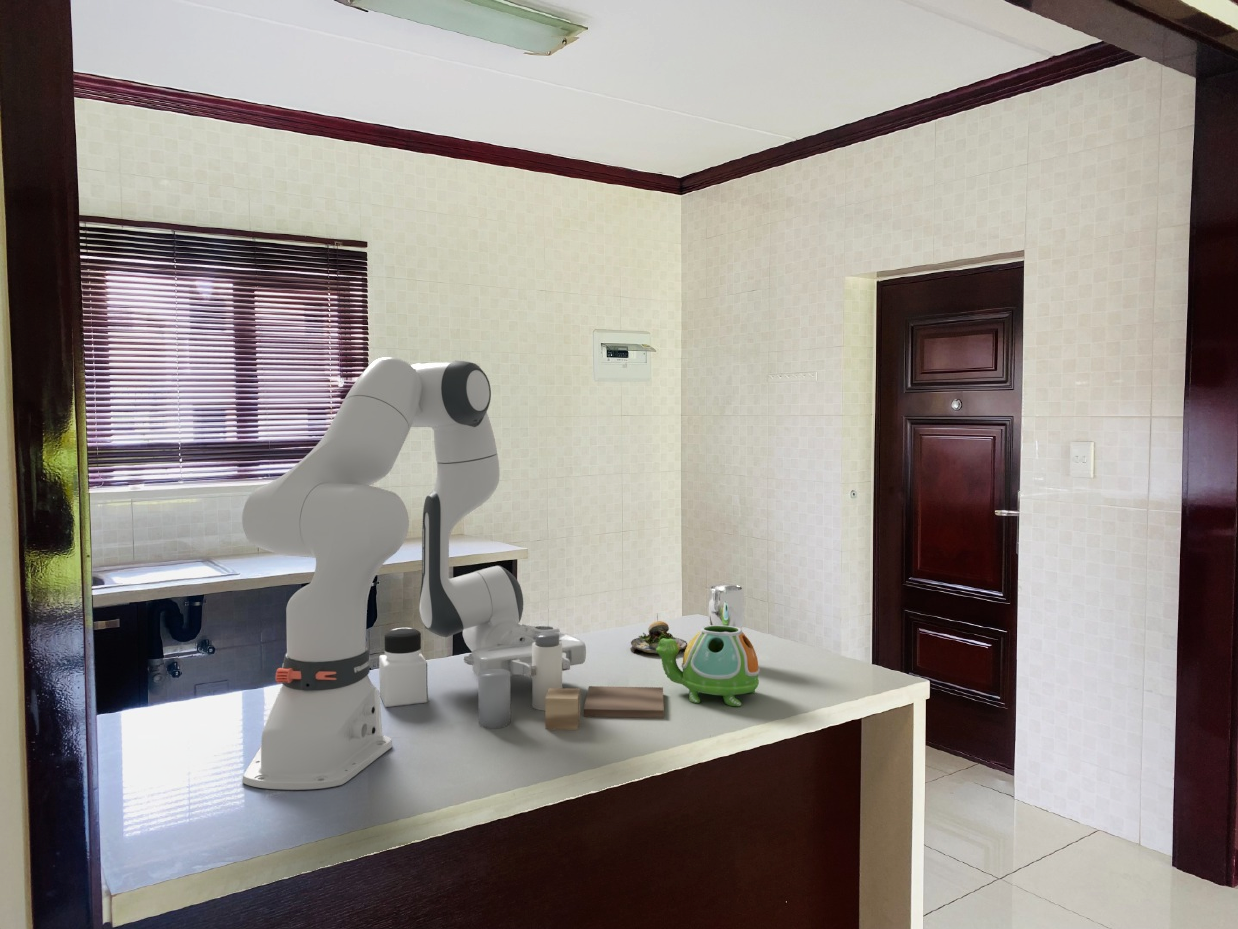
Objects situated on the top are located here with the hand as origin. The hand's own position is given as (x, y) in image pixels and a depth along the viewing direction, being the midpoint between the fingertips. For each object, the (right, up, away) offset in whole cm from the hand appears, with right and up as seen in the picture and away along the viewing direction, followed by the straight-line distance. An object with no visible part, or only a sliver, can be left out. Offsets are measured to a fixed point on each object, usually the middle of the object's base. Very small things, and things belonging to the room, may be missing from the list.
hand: (549, 668), depth 151 cm
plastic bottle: (0, -6, +1) cm, 7 cm away
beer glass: (+33, -5, +27) cm, 42 cm away
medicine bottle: (-25, -6, +4) cm, 27 cm away
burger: (+20, -5, +36) cm, 42 cm away
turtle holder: (+28, -7, +7) cm, 29 cm away
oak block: (+3, -7, -7) cm, 11 cm away
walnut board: (+13, -6, +2) cm, 14 cm away
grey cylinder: (-8, -7, -7) cm, 13 cm away
